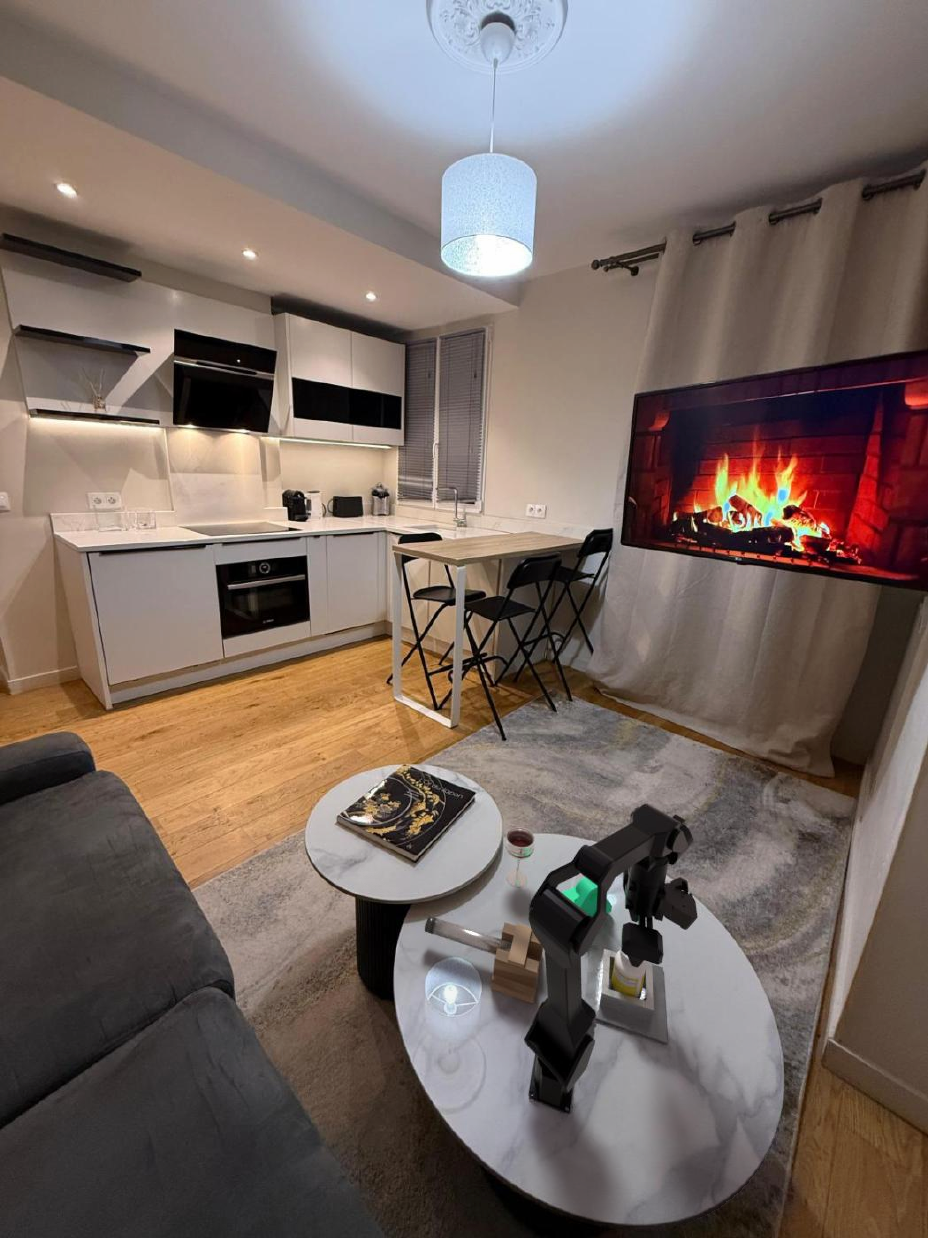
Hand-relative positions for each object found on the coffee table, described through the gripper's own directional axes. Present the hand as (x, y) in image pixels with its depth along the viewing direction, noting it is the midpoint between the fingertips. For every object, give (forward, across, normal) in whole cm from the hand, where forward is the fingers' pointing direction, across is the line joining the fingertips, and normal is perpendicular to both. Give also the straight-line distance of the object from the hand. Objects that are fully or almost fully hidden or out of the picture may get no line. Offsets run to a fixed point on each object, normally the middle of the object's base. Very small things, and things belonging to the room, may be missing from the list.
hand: (634, 942), depth 89 cm
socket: (+12, 0, 0) cm, 12 cm away
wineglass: (+13, +19, +25) cm, 34 cm away
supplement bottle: (+12, 0, 0) cm, 12 cm away
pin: (+9, -3, +30) cm, 32 cm away
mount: (+12, -3, +20) cm, 24 cm away
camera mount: (+13, +15, +10) cm, 22 cm away
